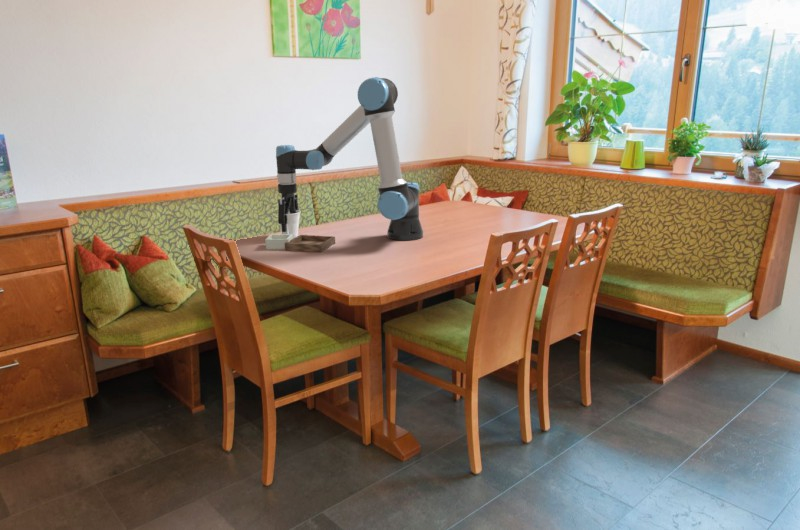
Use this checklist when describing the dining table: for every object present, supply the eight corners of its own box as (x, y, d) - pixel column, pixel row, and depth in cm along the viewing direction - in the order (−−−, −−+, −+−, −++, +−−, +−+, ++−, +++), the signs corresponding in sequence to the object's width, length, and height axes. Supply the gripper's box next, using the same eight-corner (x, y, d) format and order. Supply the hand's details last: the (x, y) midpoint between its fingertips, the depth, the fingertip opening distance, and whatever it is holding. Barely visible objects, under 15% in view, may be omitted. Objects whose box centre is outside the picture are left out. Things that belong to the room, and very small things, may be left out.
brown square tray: (335, 243, 245) (334, 236, 245) (321, 252, 232) (320, 245, 231) (301, 241, 249) (300, 234, 249) (285, 250, 235) (284, 243, 235)
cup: (297, 240, 251) (295, 214, 248) (274, 239, 253) (272, 213, 250) (305, 235, 260) (304, 210, 257) (283, 234, 262) (282, 209, 259)
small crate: (293, 243, 245) (292, 234, 244) (289, 249, 236) (288, 239, 235) (270, 244, 245) (270, 234, 244) (266, 249, 236) (265, 239, 235)
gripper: (289, 179, 261) (292, 231, 267) (266, 186, 241) (270, 241, 247) (305, 180, 259) (308, 232, 265) (284, 187, 239) (287, 242, 246)
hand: (290, 236), depth 256 cm, fingers closed on cup, 8 cm apart
